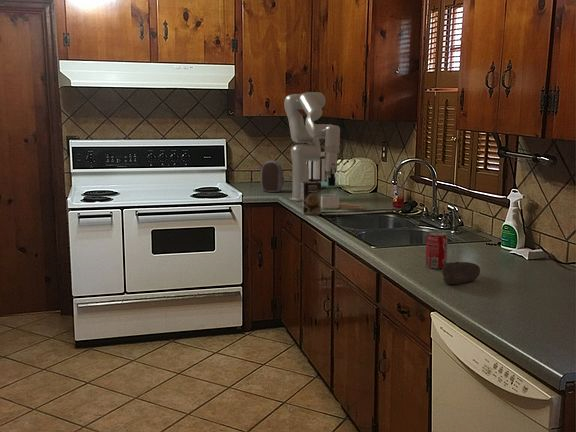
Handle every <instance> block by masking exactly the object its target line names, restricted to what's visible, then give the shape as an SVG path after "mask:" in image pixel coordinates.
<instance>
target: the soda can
mask: <svg viewBox="0 0 576 432" xmlns="http://www.w3.org/2000/svg"><path fill="white" fill-rule="evenodd" d="M446 235H447V233H446V232H443V231H441V232H440V231H429V232H428V236H427V237H426V241H425V242H426V243H425V244H426V246H425V266H427V267H428V268H429V267H430V268H429V269H431V268H434V269H433V270H440V269H439V268H442V269H443V263H447V258H448V237H447V236H446Z"/></svg>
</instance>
